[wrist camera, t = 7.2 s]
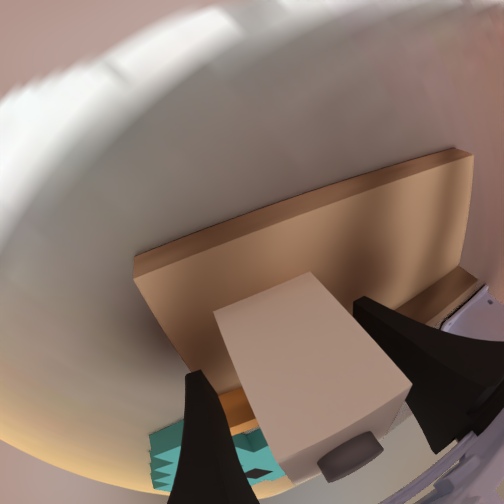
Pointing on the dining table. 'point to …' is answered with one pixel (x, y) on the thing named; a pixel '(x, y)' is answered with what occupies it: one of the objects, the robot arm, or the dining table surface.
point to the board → (318, 259)
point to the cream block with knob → (312, 378)
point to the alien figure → (247, 447)
